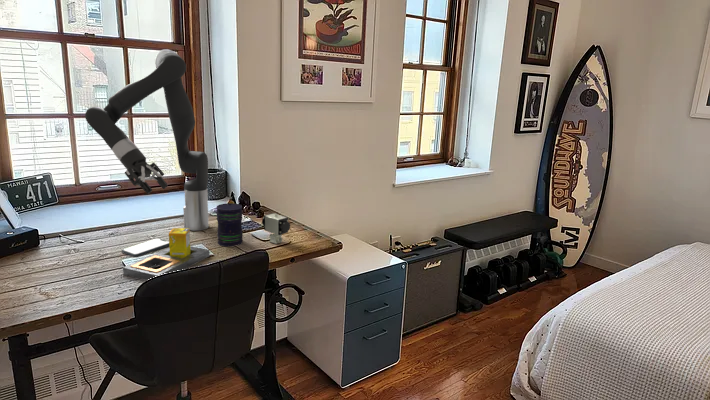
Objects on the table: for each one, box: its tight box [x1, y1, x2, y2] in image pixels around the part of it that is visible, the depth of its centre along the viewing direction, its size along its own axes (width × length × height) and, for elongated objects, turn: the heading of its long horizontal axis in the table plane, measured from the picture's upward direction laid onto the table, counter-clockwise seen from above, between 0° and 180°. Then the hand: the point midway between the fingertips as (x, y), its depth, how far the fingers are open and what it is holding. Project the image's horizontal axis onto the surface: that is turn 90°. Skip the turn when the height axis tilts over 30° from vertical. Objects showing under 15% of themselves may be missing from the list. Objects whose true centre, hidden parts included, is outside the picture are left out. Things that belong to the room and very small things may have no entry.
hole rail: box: [122, 245, 210, 281], centre depth 168 cm, size 14×26×3 cm, turn 159°
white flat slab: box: [121, 237, 169, 258], centre depth 182 cm, size 9×2×16 cm
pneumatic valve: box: [261, 212, 291, 245], centre depth 194 cm, size 6×12×12 cm, turn 53°
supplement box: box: [168, 227, 191, 258], centre depth 172 cm, size 6×6×11 cm
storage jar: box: [216, 202, 244, 248], centre depth 191 cm, size 10×10×15 cm
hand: (158, 189), depth 171 cm, fingers open, 8 cm apart
